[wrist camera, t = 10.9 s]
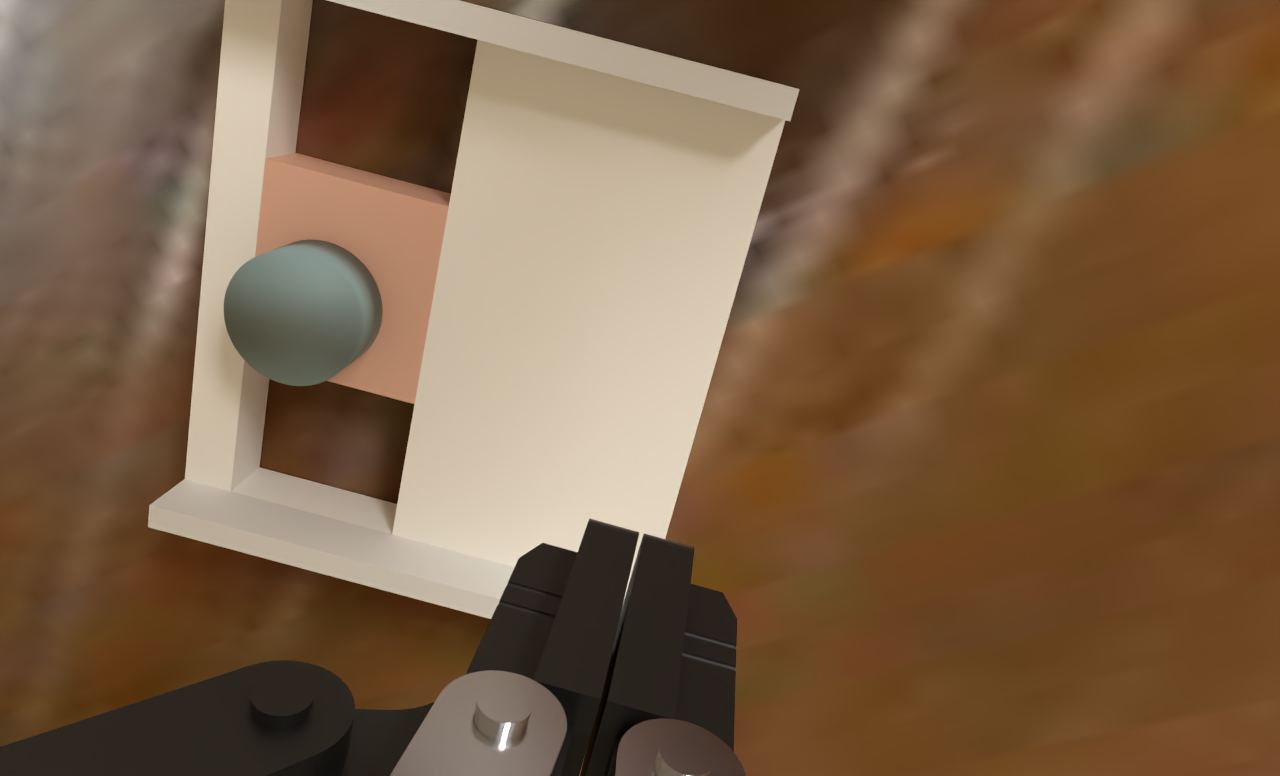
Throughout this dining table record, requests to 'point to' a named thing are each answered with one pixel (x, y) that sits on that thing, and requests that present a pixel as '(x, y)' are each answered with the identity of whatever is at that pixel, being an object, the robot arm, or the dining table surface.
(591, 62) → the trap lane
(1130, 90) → the dining table surface
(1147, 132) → the dining table surface
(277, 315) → the puck
